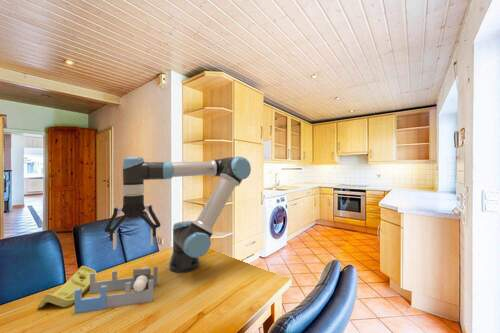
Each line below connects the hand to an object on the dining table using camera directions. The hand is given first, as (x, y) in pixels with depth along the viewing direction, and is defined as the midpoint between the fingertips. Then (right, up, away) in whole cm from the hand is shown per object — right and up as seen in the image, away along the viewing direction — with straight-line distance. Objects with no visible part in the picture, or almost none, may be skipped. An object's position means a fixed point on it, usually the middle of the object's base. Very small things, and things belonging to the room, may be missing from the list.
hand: (133, 246), depth 90 cm
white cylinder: (+4, -15, 0) cm, 15 cm away
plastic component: (-25, -20, -1) cm, 31 cm away
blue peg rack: (-4, -19, -2) cm, 20 cm away
